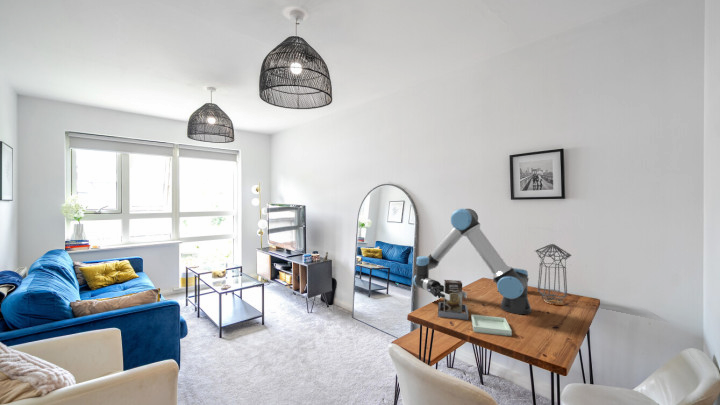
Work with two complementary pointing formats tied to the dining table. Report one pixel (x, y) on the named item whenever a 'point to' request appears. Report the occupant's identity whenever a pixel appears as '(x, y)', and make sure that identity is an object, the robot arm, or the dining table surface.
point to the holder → (453, 314)
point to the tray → (490, 325)
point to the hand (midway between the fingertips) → (458, 296)
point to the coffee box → (453, 296)
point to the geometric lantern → (552, 267)
